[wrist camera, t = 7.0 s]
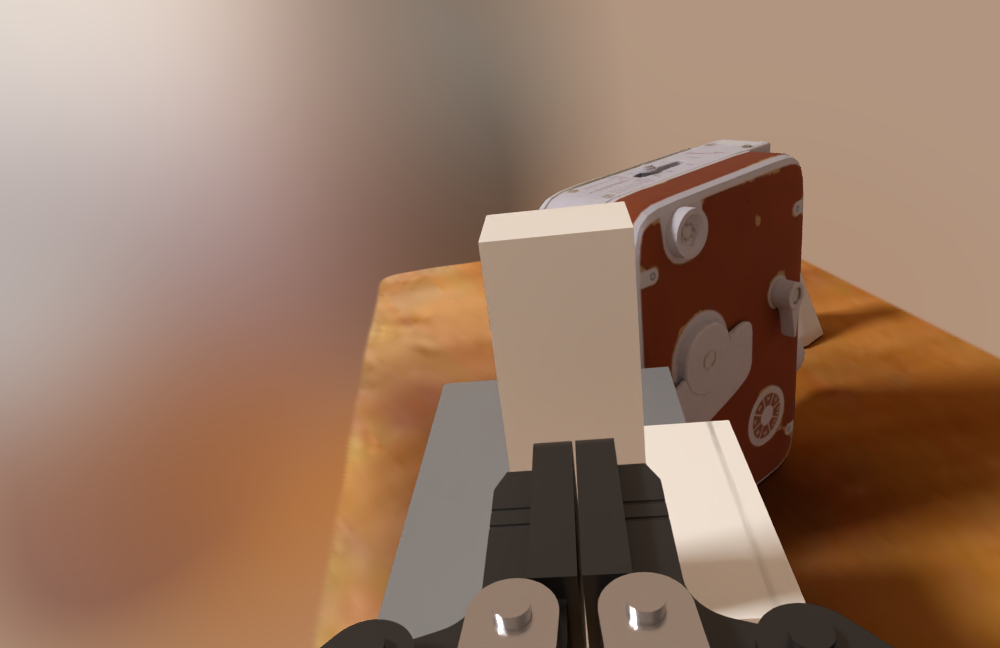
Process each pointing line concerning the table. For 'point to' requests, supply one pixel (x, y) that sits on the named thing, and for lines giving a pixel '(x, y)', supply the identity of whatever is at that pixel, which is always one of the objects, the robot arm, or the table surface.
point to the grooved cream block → (619, 395)
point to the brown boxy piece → (718, 282)
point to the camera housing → (468, 502)
